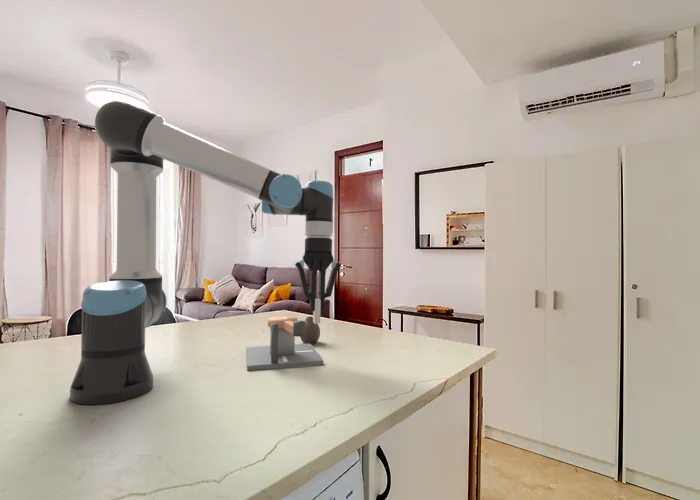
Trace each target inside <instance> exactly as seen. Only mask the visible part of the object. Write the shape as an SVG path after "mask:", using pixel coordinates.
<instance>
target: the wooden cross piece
mask: <svg viewBox="0 0 700 500" xmlns="http://www.w3.org/2000/svg"><path fill="white" fill-rule="evenodd" d="M273 323H278V324H279V325H278V328H283V329H285V330H287V331H288V332H290V333H291V334H293V336H295V337H298V338H300V337H301V336H305V320H298V317H295V316H289V315H287V316H286V315H283V316H281V315H278V316H272V317H269V318H267V327H268V328H270V327H271V328H272V324H273Z"/></svg>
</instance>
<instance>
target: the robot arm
mask: <svg viewBox="0 0 700 500" xmlns="http://www.w3.org/2000/svg"><path fill="white" fill-rule="evenodd" d="M94 127H95V130H96V134H97V135H98V137H99V138H100V139H101V141H102V142H103V144H105V145H106V146H107V147H109V149H110V160H109V161H110V163H109V164H110V168H111V169H112V170H114V172H115V173H116V174H117V193H116V194H117V197H116V199H117V204H116V205H117V207H116V209H117V210H116V214H117V215H116V217H117V219H116V270H115V272H113V273H112V274H111V275H110V276H109V278H108V279H109V280H107V281H103V282H96V283H93V284H91V285H88V286H87V287H86V288H85V289H84V290H83V292H82V300H81V302H80V308H81V342H80V343H81V344H80V346H81V352H80V354H81V355H80V361H79V364H78V367H77V370H76V373H75V375H74V377H73V380H72V382H71V385H70V388H69V400H70V401H71V402H72V403H75V404H79V405H89V406H90V405H105V404H112V403H118V402H123V401H127V400H130V399H133V398H136V397H140V396H142V395H143V394H146V393H148V392H149V391H150V390H152V388H153V386H154V374H153V372H152V369H151V366H150V363H149V361H148V357H147V354H146V352H145V350H146V349H145V347H146V329H147V328H149V327H151V326H153V325H155V324H156V323H157V322H158V321H159V320H160V319H161V317H162V316H163V314H164V313H165V311H166V308H167V296H166V293H165V291H164V289H163V275H162V274H161V273H160V272H159V271H158V270H157V255H156V254H157V178H158V176H159V175H160V174H162V173H163V172H164V160H165V161H167V162H171V163H173V164H175V165H178V166H180V167H182V168H184V169H188V170H190V171H191V172H194V173H196V174H198V175H201V176H204V177H206V178H209V179H211V180H213V181H216V182H218V183H220V184H223V185H225V186H226V187H227V186H228V187H229V188H232V189H235V190H237V191H239V192H242V193H243V194H247V195H248V196H251V197H253V198H256V199H257V200H260V201H261V211H262V213H263V214H265V215H266V214H268V215H274V216H276V215H283V216H284V215H287V216H305V226H304V227H305V229H304V231H305V233H304V234H305V237H306V238H305V239H304V254H303V256H302V259H301V260H298V261H297V262H294V266H295V268H296V269H297V271H298V275H299V281H300V285H301V290H302V294H303V296H304V297H305V298H308V299H309V311H310V312H312V317H313V322H314V323H315V324H316V323H317V324H321V312H323V311H324V310H325V299H327V298H329V297H330V298H331V296H332V293H333V289H334V285H335V282H336V277H337V275H338V274H337V273H338V271H339V269H340V268H341V267H342V264H341V263H340V262H337V261H336V260H335V259H334V256H333V253H332V252H333V240H332V238H331V237H333V217H334V215H333V213H334V187H333V184H332V183H331V182H329V181H325V180H324V181H323V180H310V181H307V182H306V186H305V187H302V184H301V181H299V179H297V178H296V176H294V175H291V174H288V173H286V174H285V173H283V174H281V173H279V172H276V171H273V170H271V169H270V168H267V167H266V166H263V165H262V164H258V163H256V162H254V161H252V160H250V159H247V158H245V157H243V156H241V155H238V154H236V153H234V152H232V151H229V150H227V149H225V148H222V147H220V146H218V145H216V144H213V143H212V142H209V141H206V140H205V139H203V138H200V137H198V136H196V135H194V134H192V133H189V132H186V131H185V130H182V129H181V128H179V127H175V126H173V125H172V124H169V123H166V120H165V118H164V117H163V116H162V115H161V114H158V113H155V112H154V111H151V110H149V109H148V108H145V107H143V106H142V105H139V104H137V103H135V102H132V101H130V100H125V99H117V100H116V99H114V100H111V101H108V102H106V103H104V104H103V105H102V106H101V107H100V108H98V110H97V112H96V114H95V118H94ZM305 265H306V266H307V268H308V270H309V288H308V283H307V279H306V274H305V270H304V268H305ZM329 267H331V270H330V273H329V277H328V280H327V284H326V272H327V270H328V268H329ZM317 271H318V274H319V275H318V280H319V281H318V298H316V295H317V294H316V292H317Z"/></svg>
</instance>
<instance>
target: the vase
mask: <svg viewBox="0 0 700 500" xmlns="http://www.w3.org/2000/svg"><path fill="white" fill-rule="evenodd" d="M304 321H305V336H301V337H299V339H300V340H301V342H302V344H311V345H315V344H316V343H317V342H318V341H319V340H320V336H321V329H320V328H321V327H320V325H319V323H316V324H315V323H314V322H313V316H306V318H305V320H304Z"/></svg>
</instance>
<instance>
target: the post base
mask: <svg viewBox="0 0 700 500" xmlns="http://www.w3.org/2000/svg"><path fill="white" fill-rule="evenodd" d="M278 325H279V324H278V323H273V324H272V328H271V327H269V329H270V330H269V345H262V346H261V345H260V346H245V356H246V357H245V358H246V359H245V360H246V371H259V370H270V369H271V370H272V369H273V370H274V369H286V368H299V367H312V366H323V365H324V358H322V357H321V355H319V353H318V352H317V350H316V349H315V348H314V347H313V344H304V343H296V344H295V339H296V338H295V337H296V336H293V334H291V333H290V332H288V331H287V330H285V329H283V328H278Z"/></svg>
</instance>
